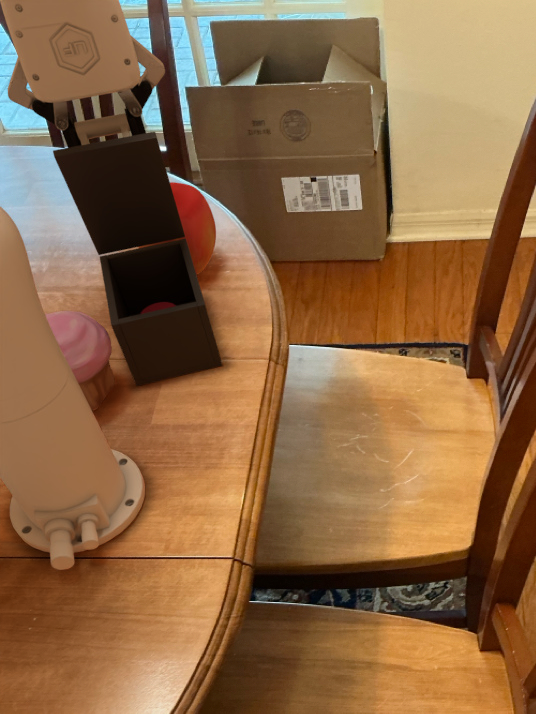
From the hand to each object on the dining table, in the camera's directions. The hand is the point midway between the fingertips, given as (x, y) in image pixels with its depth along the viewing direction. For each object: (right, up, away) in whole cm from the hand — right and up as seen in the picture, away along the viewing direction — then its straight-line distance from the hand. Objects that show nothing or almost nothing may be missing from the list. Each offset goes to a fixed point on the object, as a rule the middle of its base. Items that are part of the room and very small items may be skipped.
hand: (112, 155), depth 79 cm
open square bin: (+3, -17, +9) cm, 20 cm away
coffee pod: (+4, -18, +8) cm, 20 cm away
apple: (+3, -6, +18) cm, 19 cm away
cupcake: (-4, -24, +5) cm, 25 cm away
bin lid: (+2, -5, -1) cm, 5 cm away
